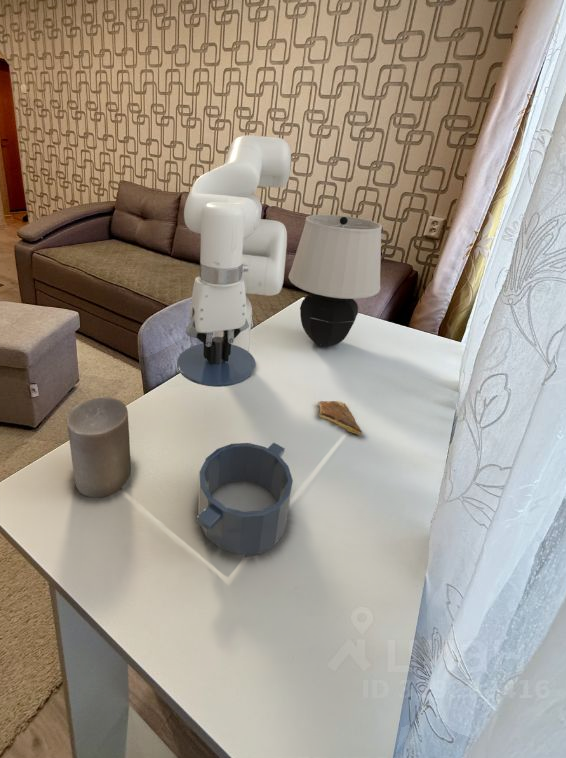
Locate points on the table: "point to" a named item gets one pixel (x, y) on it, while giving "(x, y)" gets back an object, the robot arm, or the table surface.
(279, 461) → the pot
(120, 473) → the pillar candle
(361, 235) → the table lamp
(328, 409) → the cake slice
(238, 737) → the table surface
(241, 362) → the lid
